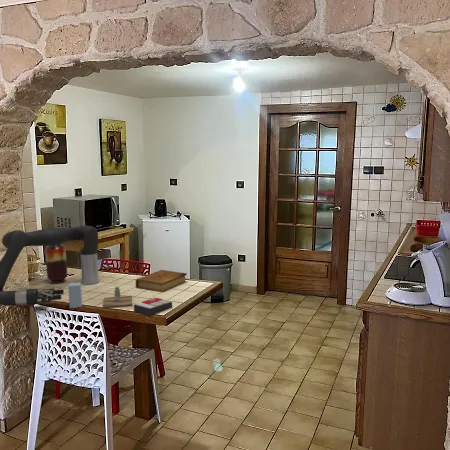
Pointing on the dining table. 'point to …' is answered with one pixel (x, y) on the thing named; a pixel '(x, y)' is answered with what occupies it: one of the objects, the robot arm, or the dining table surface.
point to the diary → (161, 281)
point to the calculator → (152, 306)
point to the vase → (56, 263)
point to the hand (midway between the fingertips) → (62, 294)
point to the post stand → (117, 300)
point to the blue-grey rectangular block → (75, 295)
